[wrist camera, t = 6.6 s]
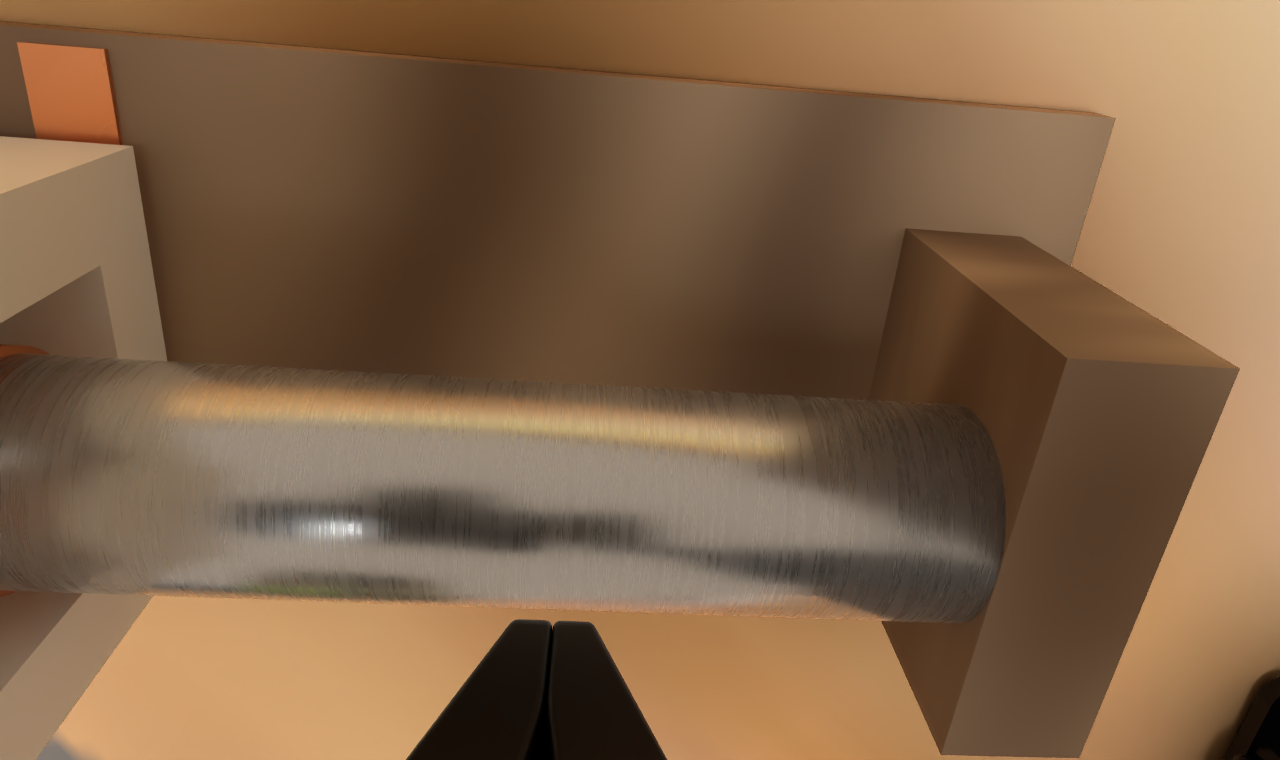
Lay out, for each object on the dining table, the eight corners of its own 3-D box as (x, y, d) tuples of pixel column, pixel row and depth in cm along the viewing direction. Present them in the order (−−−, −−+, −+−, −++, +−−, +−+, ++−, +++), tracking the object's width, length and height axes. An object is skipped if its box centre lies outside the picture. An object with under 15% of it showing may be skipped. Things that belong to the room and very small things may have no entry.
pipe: (1051, 126, 14) (1312, 211, 9) (919, 605, 18) (1046, 851, 13) (-307, 14, 12) (-937, 40, 7) (-115, 568, 16) (-431, 831, 11)
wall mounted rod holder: (1095, 113, 14) (1404, 196, 9) (953, 596, 18) (1103, 855, 13) (-348, -8, 12) (-1073, 1, 7) (-144, 555, 17) (-500, 833, 11)
